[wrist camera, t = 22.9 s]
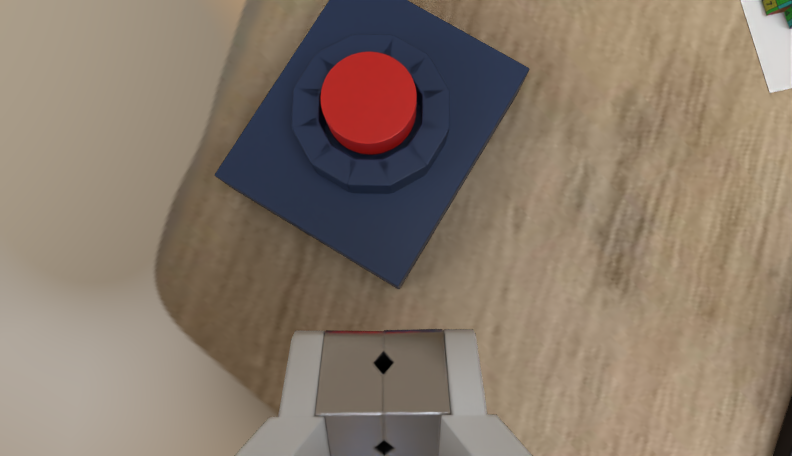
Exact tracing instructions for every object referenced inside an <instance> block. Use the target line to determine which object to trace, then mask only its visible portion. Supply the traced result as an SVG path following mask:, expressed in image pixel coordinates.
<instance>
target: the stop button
mask: <svg viewBox="0 0 792 456" xmlns="http://www.w3.org/2000/svg"><path fill="white" fill-rule="evenodd" d="M320 98H321V108H322V112H323V115H324V117H325V119H326V122H327V124H328V126H329V128H330V131H331V133H332V134H333V136H334V137H335V138H336V139H337V141H338V142H339V143H341V144H342V145H343V146H344V147H346V148H347V149H349V150H351V151H354V152H357V153H361V154H368V155H373V154H381V153H384V152H387V151H390V150H392V149H394V148H395V147H397V146H398V145H399V144H401V143H402V142H403V141H404V140H405V139H406V138H407V136H408V135H409V133H410V132H411V130H412V128H413V125H414V123H415V118H416V105H417V93H416V87H415V84H414V81H413V79H412V76H411V75H410V73H409V72H408V70H407V69H406V68H405V67H404V66H403V65H402V64H401V63H400V62H399V61H397V60H396V59H394V58H393V57H390V56H388V55H386V54H383V53H378V52H360V53H356V54H353V55H350V56H348V57H346V58H344V59H342V60H341V61H340V62H338V63H337V64H336V65H335V66H334V67H333V68H332V69H331V70H330V72H329V73H328V74H327V76H326V78H325V80H324V83H323V85H322V89H321V96H320Z"/></svg>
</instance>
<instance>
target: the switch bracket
mask: <svg viewBox="0 0 792 456" xmlns="http://www.w3.org/2000/svg"><path fill="white" fill-rule="evenodd" d="M773 456H792V397H791V400H790V403H789V406H788V409H787V412H786V416H785V419H784V422H783V425H782V428H781V431H780V434H779V437H778V441H777V444H776V447H775V450H774V453H773Z"/></svg>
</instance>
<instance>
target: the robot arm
mask: <svg viewBox="0 0 792 456" xmlns="http://www.w3.org/2000/svg"><path fill="white" fill-rule="evenodd" d="M235 456H533V455H532V454H531V453H530V452H529V451H528V450H527V448H526V447H525V446H524V445H523V444H522V443H521V442H520V440H519V439H518V438H517V437H516V436H515V435H514V434H513V433H512V431H511V430H510V429H509V428H508V427H507V426H506V425H505V423H504V422H503V421H502V420H501V419H500V418H499V417H498V415H494V414H487V407H486V401H485V394H484V387H483V380H482V373H481V366H480V359H479V353H478V346H477V339H476V334H475V332H474V330H473V329H444V330H442V329H421V330H384V331H295V332H294V335H293V337H292V339H291V345H290V351H289V357H288V363H287V369H286V374H285V380H284V386H283V392H282V398H281V404H280V410H279V415H278V417H269V418H268V419H267V420H266V421H265V422H264V423H263V425H262V426H261V427H260V428H259V429H258V430H257V431H256V432H255V433H254V434H253V435H252V437H251V438H250V439H249V440H248V441H247V442H246V443H245V444H244V446H243V447H242V448H241V449H240V450H239V451H238V452H237V453H236V455H235Z"/></svg>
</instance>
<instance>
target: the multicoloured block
mask: <svg viewBox="0 0 792 456" xmlns="http://www.w3.org/2000/svg"><path fill="white" fill-rule="evenodd" d="M761 3H762V6H763V9H764V12H765V15H766V16H767V17H768V16H772V15H777V14H782V13H784V16H785V19H786V23H787V26H788V29H789V30H792V0H761Z"/></svg>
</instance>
